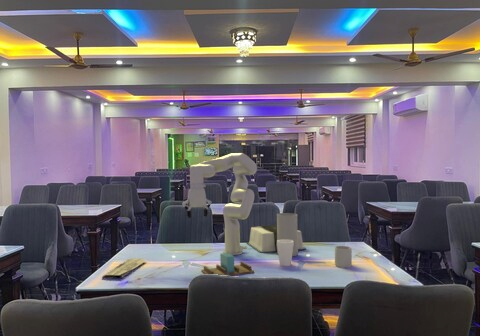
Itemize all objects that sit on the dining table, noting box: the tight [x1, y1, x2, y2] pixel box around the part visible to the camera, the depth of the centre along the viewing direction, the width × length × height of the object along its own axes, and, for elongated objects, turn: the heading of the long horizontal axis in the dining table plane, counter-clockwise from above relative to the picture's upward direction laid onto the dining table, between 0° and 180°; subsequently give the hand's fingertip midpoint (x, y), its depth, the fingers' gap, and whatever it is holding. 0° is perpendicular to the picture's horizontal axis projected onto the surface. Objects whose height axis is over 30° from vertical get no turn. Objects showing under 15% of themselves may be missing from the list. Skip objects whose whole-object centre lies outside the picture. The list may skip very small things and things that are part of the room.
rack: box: [200, 260, 255, 277], centre depth 194 cm, size 24×14×3 cm, turn 114°
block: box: [219, 252, 235, 273], centre depth 194 cm, size 4×9×8 cm, turn 25°
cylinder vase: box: [276, 212, 299, 258], centre depth 231 cm, size 12×12×25 cm
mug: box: [334, 245, 353, 269], centre depth 206 cm, size 11×10×10 cm
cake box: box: [245, 224, 307, 254], centre depth 257 cm, size 35×33×12 cm
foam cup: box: [277, 240, 294, 267], centre depth 209 cm, size 10×9×13 cm
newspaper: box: [101, 258, 147, 279], centre depth 201 cm, size 35×12×4 cm, turn 176°
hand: (197, 216), depth 212 cm, fingers open, 9 cm apart
